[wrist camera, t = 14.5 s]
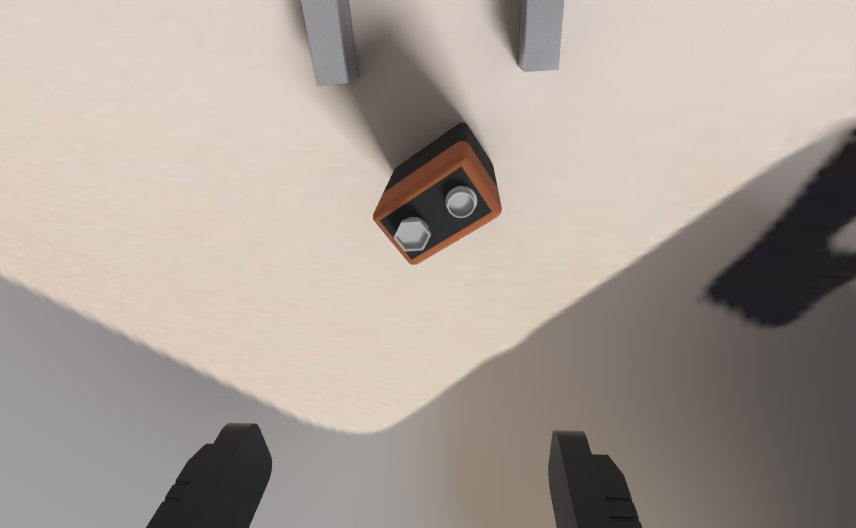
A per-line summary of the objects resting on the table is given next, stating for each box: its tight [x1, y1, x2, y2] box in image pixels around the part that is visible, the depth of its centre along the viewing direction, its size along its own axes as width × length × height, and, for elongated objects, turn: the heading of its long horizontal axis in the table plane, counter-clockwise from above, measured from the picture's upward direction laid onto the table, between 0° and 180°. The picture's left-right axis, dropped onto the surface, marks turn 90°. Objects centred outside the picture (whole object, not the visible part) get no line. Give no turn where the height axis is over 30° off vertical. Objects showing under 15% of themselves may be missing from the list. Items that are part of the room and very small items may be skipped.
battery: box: [373, 123, 502, 265], centre depth 28 cm, size 4×7×10 cm, turn 125°
